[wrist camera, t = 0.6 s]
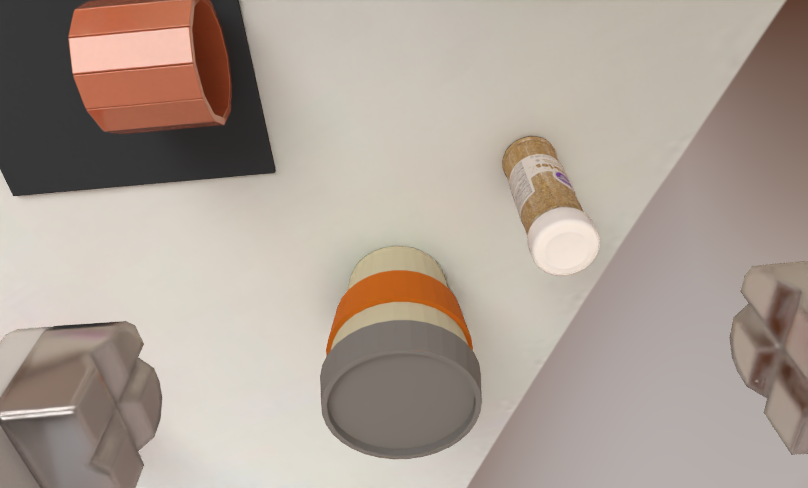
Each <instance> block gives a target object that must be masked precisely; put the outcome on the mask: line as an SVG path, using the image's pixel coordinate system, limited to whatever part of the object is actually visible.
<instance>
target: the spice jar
mask: <svg viewBox="0 0 808 488" xmlns="http://www.w3.org/2000/svg"><path fill="white" fill-rule="evenodd" d="M502 166H503V170H504V173H505V175H506V176H507V178H508V180H509V185H510V189H511V192H512V195H513V198H514V201H515V204H516V207H517V209H518V212H519V215H520V218H521V221H522V223H523V225H524V227H525V230H526V233H527V238H528V246H529V249H530V252H531V255H532V257H533V260H534V262H535V263H536V265H537V266H538V267H539V268H540V269H541V270H543V271H544V272H547V273H549V274H552V275H559V276H563V275H570V274H574V273H577V272H579V271H581V270H583V269H584V268H586V267H587V266H588V265H590V264H591V263H592V261H593V260H594V259H595V257H596V256H597V254H598V251H599V247H600V239H599V235H598V232H597V230H596V228H595V226H594V224H593V222H592V220H591V219H590V217H589V216H588V215H587V214H586V213H584V211H583V209H582V207H581V205H580V203H579V201H578V200H577V198H576V196H575V191H574V190H573V188H572V185H571V183H570V181H569V179H568V177H567V175H566V173H565V171H564V169H563V167H562V165H561V164H560V163H559V161H558V159H557V155H556V152H555V149H554V148H553V146H552V145H551V144H550V143H549V142H548V141H547V140H546V139H543V138H540V137H525V138H522V139H519V140H517V141H516V142H514V143H513V144H512V145H511V146H510V147H509V148H508V149H507V150H506V152H505V155H504V157H503V161H502Z"/></svg>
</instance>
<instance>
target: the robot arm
mask: <svg viewBox="0 0 808 488" xmlns="http://www.w3.org/2000/svg"><path fill="white" fill-rule="evenodd" d="M741 293H742V294H743V296H744V297H745V299H746V300H747V301H748V303H749V304H748V305H747V306H745V308H743V309H742V310H741V311H740V312H739V313H738V314H737V315H736V316H735V317H734V319H733V323H732V328H731V333H730V345H731V352H732V353H731V354H732V359H733V361H734V364H735V366H736V369H737V372H738V373H739V375H740V376H741V378H742V380H743V381H744V383H745V385H746V386H747V387H749V388H750V389H752V390H754V391H755V392H757V393H759V394H760V395H762V396H764V397H766V398H767V401H766V406H765V410H764V414H765V415H766V417H767V418H768V420H769V421H770V423H771V424H772V426H773V427H774V429H775V430H776V432H777V433H778V435H779V436H780V438H781V439H782V441H783V442H784V444H785V445H786V447H787V448H788V450H789V452H790V453H791V454H792V455H793V454H808V261H801V262H790V263H780V264H770V265H758V266H752V267H751V268H750V269H749V271H748V272H747V273H746V275H745V277H744V281H743V284H742V288H741ZM143 345H144V343H143V341H142V339H141V337H140V335H139V333H138V331H137V329H136V326H135V325H133V324H131V323H128V322H126V321H124V322H109V323H94V324H79V325H64V326H54V327H41V328H28V329H17V330H15V331H13V332H10V333H8V334H6V335H5V336H4V338H3V339H2V340H1V342H0V488H136V485H137V482H138V480H139V477H140V474H141V471H142V469H143V466H144V464H143V461H142V459H141V457H140V455H139V453H138V451H139V450H140V449H141V448H142V447H143V446H144V445H146V444H147V443H148V442H149V441H150V440H151V439H152V438H153V437H154V436H155V433H156V430H157V427H158V424H159V422H160V418H161V405H162V394H161V388H160V383H159V380H158V377H157V375H156V372H155V370H154V368H153V367H151V366H150V365H149V364H147V363H146V362H144V361H143V360H141V359H140V358H138V356H139V354H140V351H141V349H142V347H143Z"/></svg>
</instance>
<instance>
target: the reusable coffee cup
mask: <svg viewBox="0 0 808 488" xmlns="http://www.w3.org/2000/svg"><path fill="white" fill-rule="evenodd" d="M326 353H327V357H326V359H325V361H324V363H323V365H322V370H321V375H320V382H321V406H322V415H323V418H324V420H325V423H326V425H327V427H328V428H329V429H330V431H331V432H332V434H333V435H334V436H335V437H337V438H338V439H339V440H340V441H341V442H342V443H344V444H346V445H347V446H349V447H350V448H352V449H354V450H357V451H359V452H361V453H364V454H367V455H371V456H375V457H379V458H388V459H410V458H417V457H423V456H427V455H431V454H434V453H437V452H440V451H442V450H444V449H446V448H449V447H450V446H452V445H453V444H455V443H457V442H458V441H460V440H461V439H462V438H463V437H464V436H465V435H466V434H468V433H469V432H470V430H471V429H472V427H473V426H474V425H475V423H476V421H477V419H478V417H479V414H480V410H481V402H482V398H481V373H480V367H479V362H478V360H477V358H476V356H475V354H474V352H473V346H472V340H471V336H470V334H469V331H468V328H467V325H466V323H465V320H464V317H463V314H462V312H461V309H460V306H459V304H458V302H457V299H456V297H455V296H454V295H453V293H452V292H451V291H450V289H449V288H448V286H447V284H446V281H445V278H444V275H443V273H442V270H441V268H440V266H439V265H438V264H437V263H436V261H435V260H434V259H433V258H431V257H430V256H429V255H427V254H426V253H424V252H422V251H420V250H417V249H414V248H410V247H404V246H392V247H386V248H382V249H379V250H376V251H374V252H372V253H370V254H368V255H366V256H365V257H364V258H363V259H362V260H360V262H359V263H358V264H357V265H356V267H355V268H354V270H353V272H352V274H351V278H350V282H349V285H348V289H347V292H346V293H345V295H344V296H343V297H342V299H341V301H340V303H339V305H338V307H337V311H336V314H335V318H334V321H333V325H332V328H331V332H330V335H329V339H328V344H327V349H326Z"/></svg>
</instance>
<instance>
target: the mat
mask: <svg viewBox="0 0 808 488" xmlns="http://www.w3.org/2000/svg"><path fill="white" fill-rule="evenodd" d="M87 1H95V0H0V170H1V172H2V174H3V176H4V178H5V180H6V182H7V184H8V186H9V188H10V190H11V192H12V194H13V196H21V195H32V194H43V193H54V192H66V191H77V190H88V189H99V188H111V187H122V186H133V185H144V184H156V183H167V182H178V181H190V180H201V179H212V178H223V177H235V176H246V175H257V174H268V173H275V171H276V170H275V166H274V161H273V156H272V152H271V147H270V143H269V138H268V134H267V129H266V124H265V120H264V115H263V111H262V106H261V101H260V97H259V92H258V88H257V83H256V79H255V74H254V69H253V65H252V60H251V56H250V51H249V46H248V42H247V37H246V33H245V28H244V24H243V19H242V14H241V10H240V5H239V1H238V0H210V1H211V2H212V4H213V7H214V9H215V11H216V14H217V16H218V19H219V21H220V23H221V27H222V30H223V34H224V38H225V42H226V47H227V51H228V55H229V56H228V57H229V62H230V72H231V81H232V98H231V112H230V114H229V116H228V118H227V120H226V122H225V124H224V125H218V126H207V127H196V128H185V129H174V130H163V131H152V132H141V133H130V134H114V133H110V132H105V131H103V130H102V129H101V128H100V126H99V125H98V124H97V123H96V121H95V120H94V119H93V118H92V117H91V115H90V114H89V113H88V112H87V109H86V108H85V106H84V103H83V101H82V98H81V95H80V93H79V90H78V88H77V85H76V82H75V80H74V77H73V75H74V74H73V73H72V65H71V57H70V49H69V40H68V38H69V37H68V36H69V31H70V26H71V22H72V17H73V12H74V11H75V9H76V8H78V7H79V6H81V5H83V4H84V3H86V2H87Z"/></svg>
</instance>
